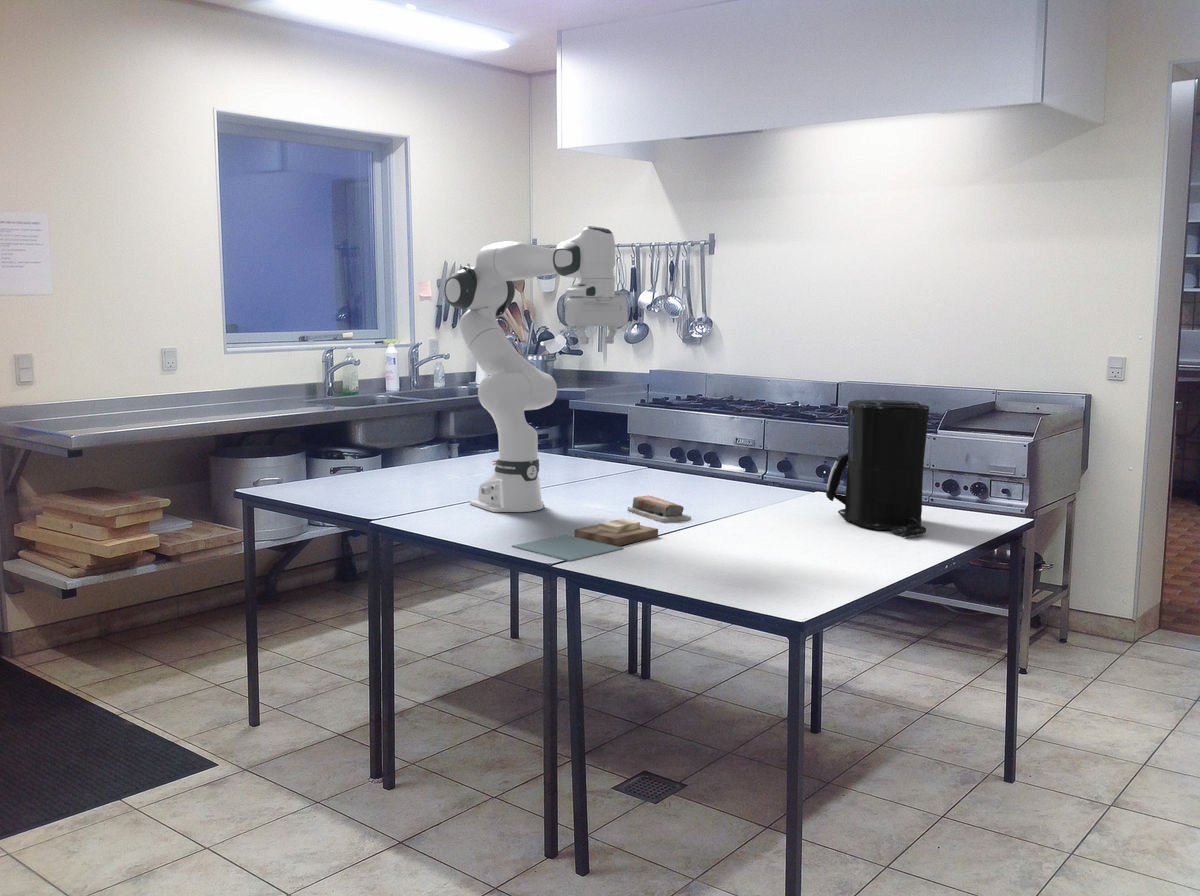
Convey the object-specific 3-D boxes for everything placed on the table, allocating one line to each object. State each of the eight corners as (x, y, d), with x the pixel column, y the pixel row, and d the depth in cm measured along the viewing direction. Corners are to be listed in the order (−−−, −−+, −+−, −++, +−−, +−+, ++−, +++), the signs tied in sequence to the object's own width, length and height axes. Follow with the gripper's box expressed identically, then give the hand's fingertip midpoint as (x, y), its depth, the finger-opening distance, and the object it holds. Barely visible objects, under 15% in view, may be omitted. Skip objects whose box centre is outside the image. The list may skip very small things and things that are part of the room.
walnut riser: (574, 537, 262) (574, 529, 261) (617, 528, 273) (617, 520, 273) (615, 546, 252) (615, 538, 252) (658, 536, 264) (658, 528, 263)
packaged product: (626, 496, 296) (655, 493, 301) (626, 512, 296) (655, 509, 301) (662, 506, 280) (692, 503, 285) (661, 524, 281) (691, 520, 286)
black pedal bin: (876, 510, 302) (882, 394, 298) (965, 531, 274) (972, 404, 270) (816, 517, 291) (821, 397, 287) (902, 540, 263) (909, 407, 259)
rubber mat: (511, 546, 251) (511, 545, 251) (565, 535, 264) (565, 534, 263) (570, 561, 237) (570, 560, 237) (623, 548, 250) (623, 547, 250)
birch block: (615, 533, 258) (615, 527, 258) (598, 529, 262) (598, 523, 262) (639, 527, 264) (639, 522, 264) (622, 524, 268) (622, 518, 268)
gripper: (616, 291, 279) (615, 342, 281) (561, 289, 264) (560, 344, 266) (633, 291, 274) (632, 343, 276) (578, 289, 260) (578, 345, 262)
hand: (597, 343), depth 271 cm, fingers open, 8 cm apart
